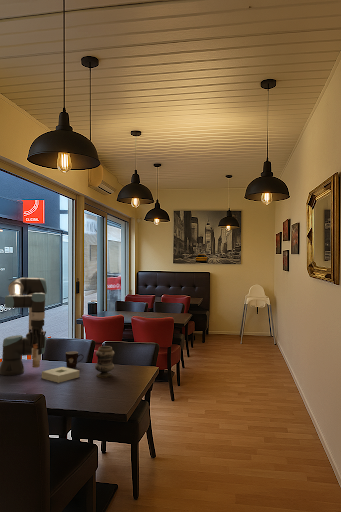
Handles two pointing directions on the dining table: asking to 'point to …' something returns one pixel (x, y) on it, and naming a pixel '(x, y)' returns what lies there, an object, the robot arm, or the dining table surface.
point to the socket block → (60, 374)
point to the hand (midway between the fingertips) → (36, 359)
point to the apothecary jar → (104, 361)
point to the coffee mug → (72, 359)
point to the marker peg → (36, 363)
